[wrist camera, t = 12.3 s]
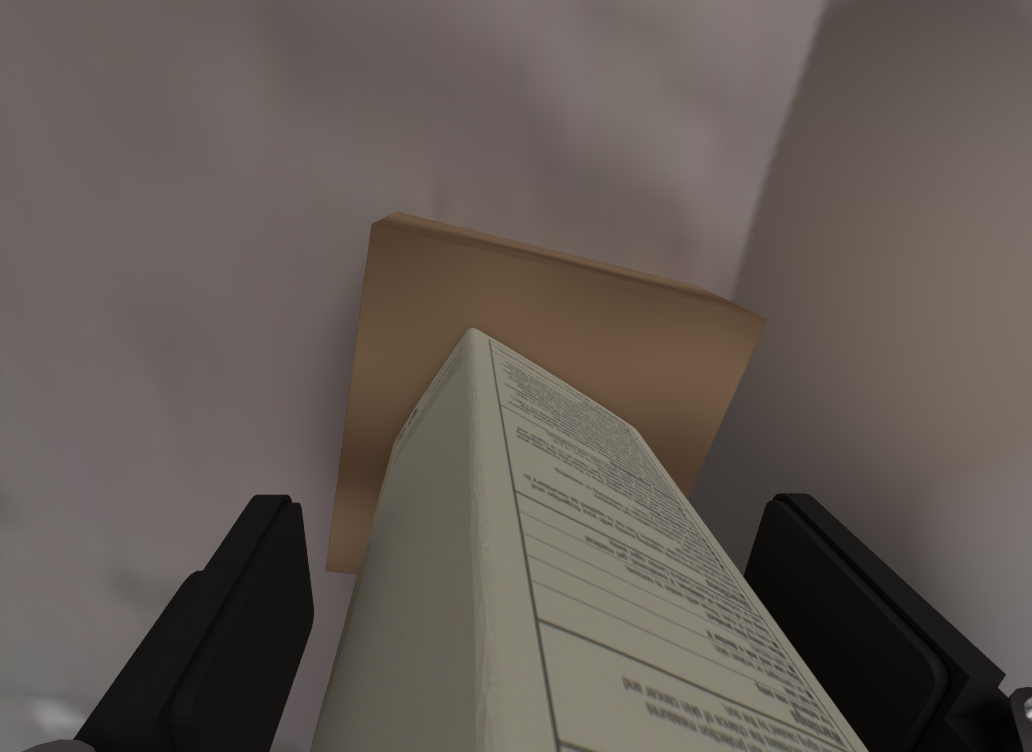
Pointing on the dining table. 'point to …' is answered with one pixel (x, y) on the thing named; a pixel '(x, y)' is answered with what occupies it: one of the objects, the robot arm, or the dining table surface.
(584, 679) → the skincare box
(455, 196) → the dining table surface
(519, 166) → the dining table surface
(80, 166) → the dining table surface
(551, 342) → the light wood square block
